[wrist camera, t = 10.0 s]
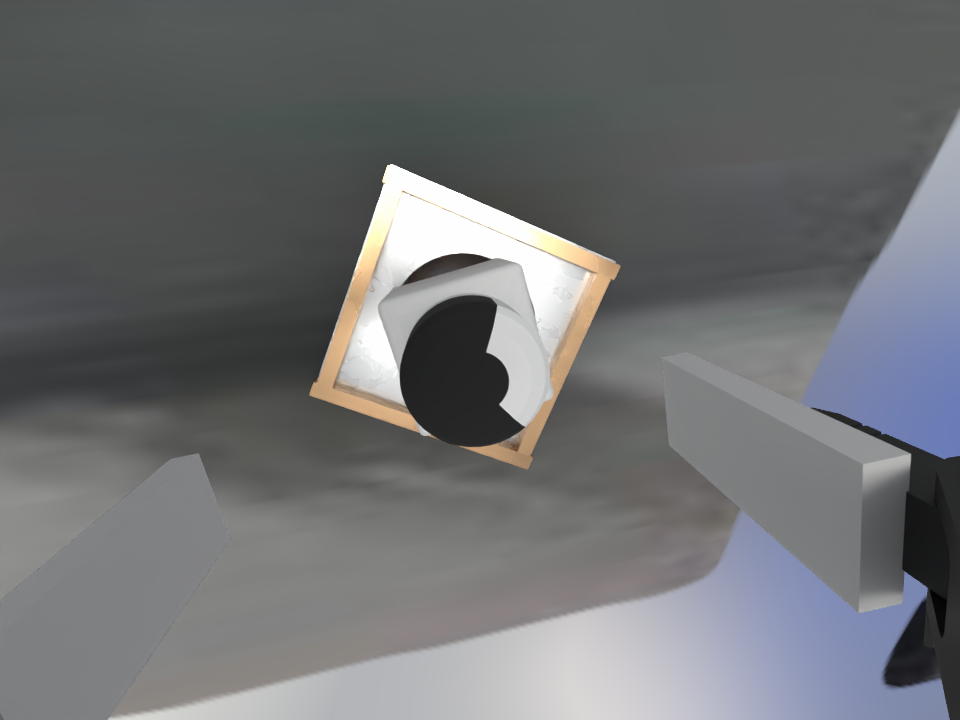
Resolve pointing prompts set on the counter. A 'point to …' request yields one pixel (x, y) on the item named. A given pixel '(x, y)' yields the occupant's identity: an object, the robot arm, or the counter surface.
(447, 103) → the counter surface
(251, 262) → the counter surface
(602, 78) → the counter surface
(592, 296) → the wooden square frame
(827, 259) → the counter surface
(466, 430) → the container
